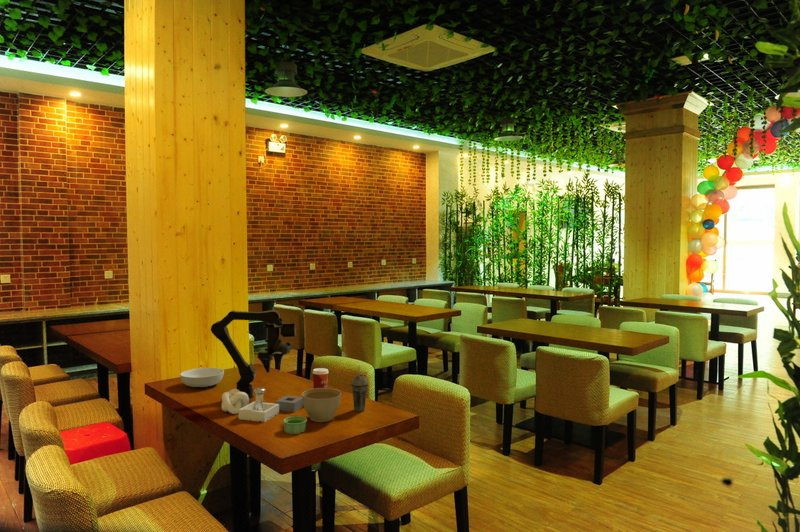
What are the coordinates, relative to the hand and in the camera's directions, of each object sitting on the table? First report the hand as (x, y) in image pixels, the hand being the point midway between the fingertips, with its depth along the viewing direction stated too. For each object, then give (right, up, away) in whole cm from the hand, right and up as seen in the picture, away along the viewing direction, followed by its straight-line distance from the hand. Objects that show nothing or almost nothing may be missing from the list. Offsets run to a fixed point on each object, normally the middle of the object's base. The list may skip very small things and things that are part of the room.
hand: (272, 370), depth 253 cm
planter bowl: (+27, -15, -29) cm, 42 cm away
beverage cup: (+42, -15, -16) cm, 47 cm away
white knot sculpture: (-13, -14, -20) cm, 28 cm away
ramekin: (+19, -15, -43) cm, 49 cm away
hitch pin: (+1, -13, -27) cm, 30 cm away
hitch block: (+11, -14, -15) cm, 23 cm away
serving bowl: (-40, -12, +20) cm, 47 cm away
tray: (+1, -14, -27) cm, 30 cm away
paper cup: (+22, -14, 0) cm, 26 cm away
